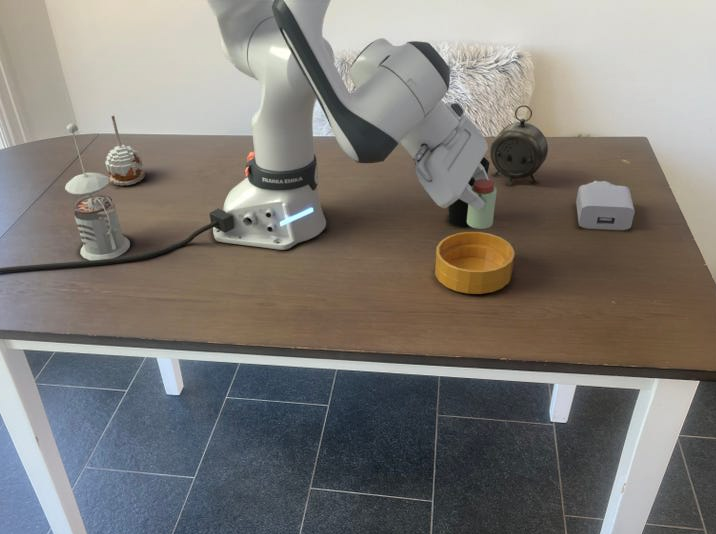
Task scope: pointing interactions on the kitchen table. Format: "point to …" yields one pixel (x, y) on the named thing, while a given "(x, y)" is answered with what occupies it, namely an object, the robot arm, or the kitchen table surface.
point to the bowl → (474, 262)
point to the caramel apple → (123, 163)
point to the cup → (463, 204)
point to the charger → (604, 206)
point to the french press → (95, 215)
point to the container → (486, 213)
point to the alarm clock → (519, 150)
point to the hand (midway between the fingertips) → (485, 199)
